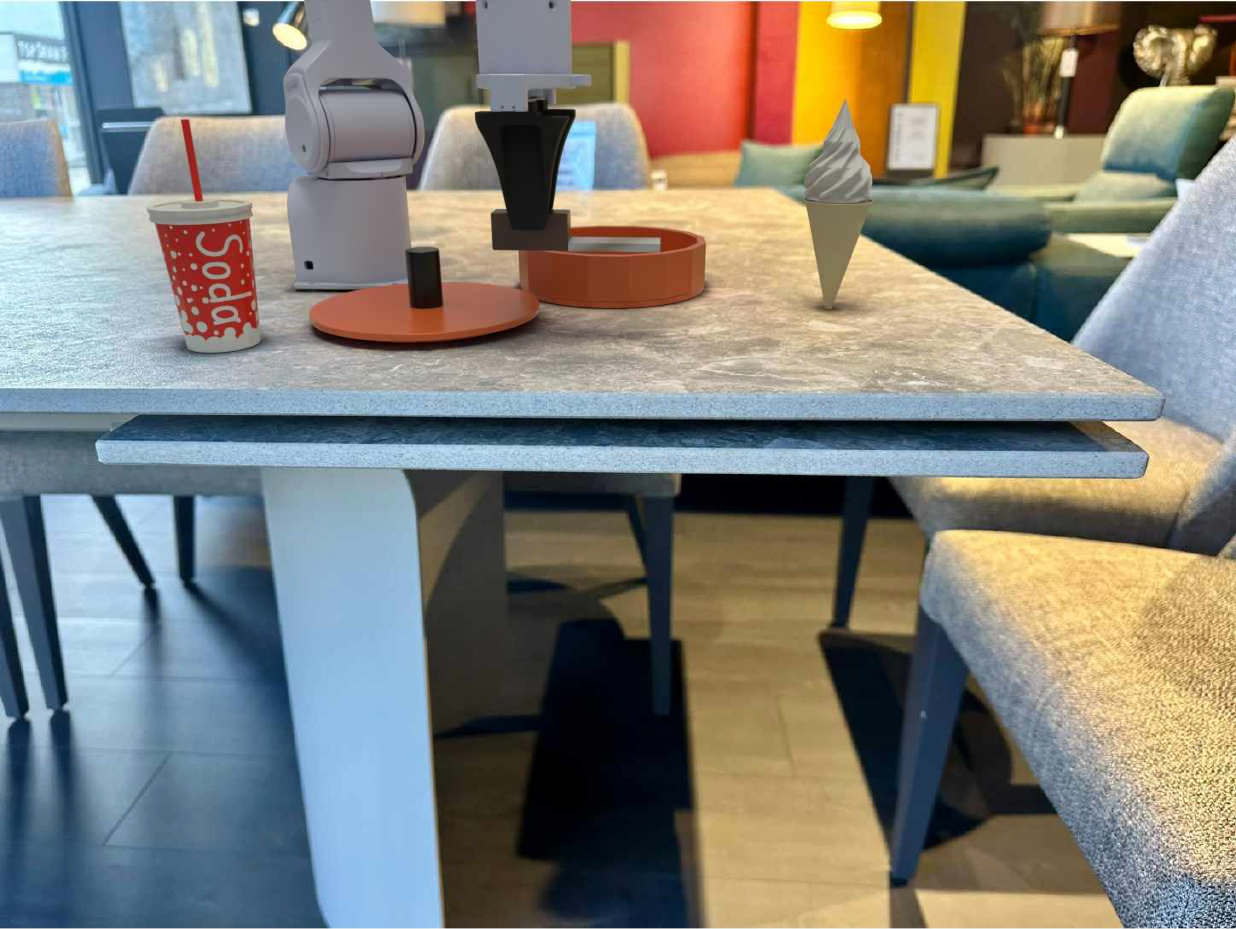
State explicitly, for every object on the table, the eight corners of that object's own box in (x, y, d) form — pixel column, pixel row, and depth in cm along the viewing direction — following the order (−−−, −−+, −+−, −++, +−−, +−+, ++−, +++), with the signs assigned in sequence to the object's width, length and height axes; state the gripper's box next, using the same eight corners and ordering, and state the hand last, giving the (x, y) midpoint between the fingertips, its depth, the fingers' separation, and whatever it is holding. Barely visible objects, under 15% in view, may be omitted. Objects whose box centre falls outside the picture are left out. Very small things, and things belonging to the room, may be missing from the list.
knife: (491, 250, 59) (490, 213, 58) (497, 245, 61) (495, 208, 60) (660, 252, 59) (660, 214, 58) (660, 246, 61) (661, 209, 60)
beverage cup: (169, 359, 57) (121, 122, 51) (178, 336, 62) (135, 118, 57) (273, 350, 59) (237, 120, 53) (272, 328, 64) (240, 116, 59)
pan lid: (273, 349, 59) (262, 270, 57) (353, 294, 74) (345, 230, 72) (522, 352, 59) (519, 273, 57) (552, 296, 74) (550, 232, 72)
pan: (508, 307, 70) (505, 255, 69) (534, 268, 84) (533, 224, 83) (707, 309, 69) (709, 256, 68) (700, 270, 84) (701, 226, 82)
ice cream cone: (782, 304, 71) (797, 98, 65) (837, 299, 73) (856, 97, 67) (817, 318, 67) (836, 99, 61) (875, 313, 68) (899, 99, 62)
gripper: (578, -18, 47) (581, 245, 53) (598, 3, 61) (599, 211, 66) (445, -17, 48) (462, 244, 53) (494, 3, 61) (503, 210, 66)
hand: (531, 226), depth 60 cm, fingers closed on knife, 2 cm apart
